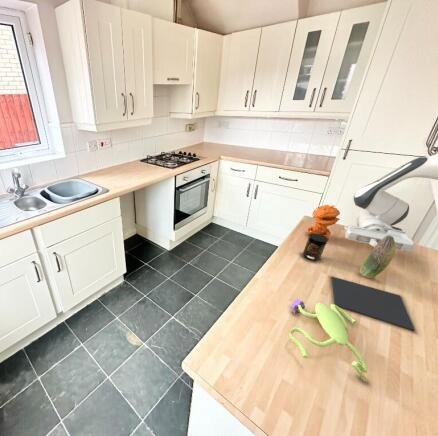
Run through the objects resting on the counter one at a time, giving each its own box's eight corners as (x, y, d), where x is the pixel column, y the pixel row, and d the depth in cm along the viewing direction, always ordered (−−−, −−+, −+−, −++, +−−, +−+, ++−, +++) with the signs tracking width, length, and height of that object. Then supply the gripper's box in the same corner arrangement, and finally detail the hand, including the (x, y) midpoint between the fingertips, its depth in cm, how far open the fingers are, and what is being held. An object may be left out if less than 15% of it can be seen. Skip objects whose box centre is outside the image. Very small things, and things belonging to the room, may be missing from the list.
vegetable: (371, 271, 97) (397, 232, 86) (381, 283, 92) (410, 243, 81) (354, 270, 98) (378, 231, 87) (363, 282, 93) (390, 242, 81)
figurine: (284, 358, 67) (289, 345, 65) (289, 295, 88) (293, 283, 85) (368, 394, 59) (378, 381, 57) (352, 315, 79) (359, 303, 77)
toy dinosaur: (326, 246, 113) (340, 212, 105) (301, 236, 121) (312, 204, 112) (334, 237, 120) (348, 205, 111) (310, 229, 127) (321, 197, 118)
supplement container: (320, 255, 107) (328, 236, 102) (319, 264, 102) (328, 243, 97) (302, 250, 111) (309, 231, 106) (301, 258, 106) (308, 238, 101)
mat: (399, 296, 86) (400, 295, 86) (413, 331, 74) (414, 330, 74) (331, 277, 95) (332, 276, 95) (334, 305, 83) (335, 304, 83)
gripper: (345, 218, 104) (349, 233, 93) (410, 230, 94) (422, 249, 84) (340, 231, 107) (343, 247, 96) (402, 244, 97) (413, 263, 87)
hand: (381, 248), depth 90 cm, fingers closed, pressing on vegetable
